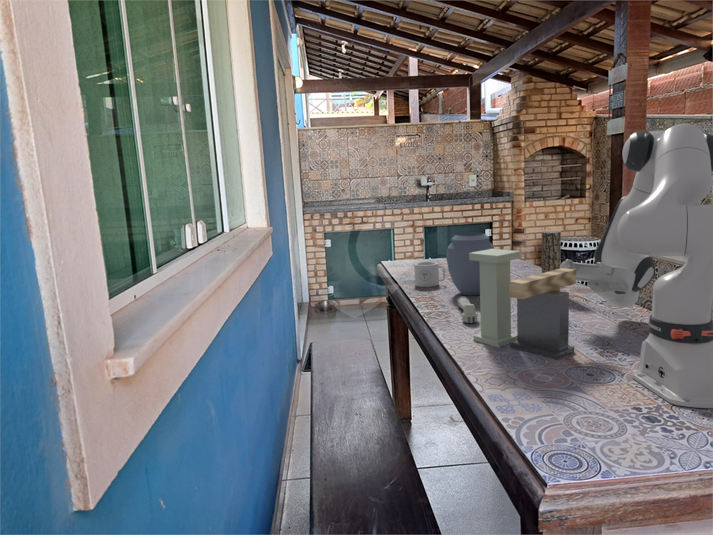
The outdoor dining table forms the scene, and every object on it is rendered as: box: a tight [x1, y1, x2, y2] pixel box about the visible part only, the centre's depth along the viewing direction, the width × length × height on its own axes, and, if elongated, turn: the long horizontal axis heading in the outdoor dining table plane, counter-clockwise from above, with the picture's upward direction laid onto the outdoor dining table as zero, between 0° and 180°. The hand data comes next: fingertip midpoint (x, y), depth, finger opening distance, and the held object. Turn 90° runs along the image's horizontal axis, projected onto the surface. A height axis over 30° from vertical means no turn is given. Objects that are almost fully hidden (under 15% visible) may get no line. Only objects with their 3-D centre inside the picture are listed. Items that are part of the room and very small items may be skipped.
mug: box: [413, 260, 446, 288], centre depth 230 cm, size 14×11×10 cm
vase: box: [445, 232, 495, 296], centre depth 208 cm, size 20×20×24 cm
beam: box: [509, 268, 577, 299], centre depth 137 cm, size 24×4×4 cm, turn 126°
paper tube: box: [541, 229, 562, 291], centre depth 198 cm, size 7×7×25 cm
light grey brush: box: [456, 295, 479, 324], centre depth 179 cm, size 5×7×25 cm
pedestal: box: [469, 248, 522, 348], centre depth 148 cm, size 10×10×26 cm
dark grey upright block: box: [510, 290, 575, 360], centre depth 138 cm, size 8×14×16 cm, turn 36°
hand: (582, 263), depth 147 cm, fingers open, 8 cm apart
